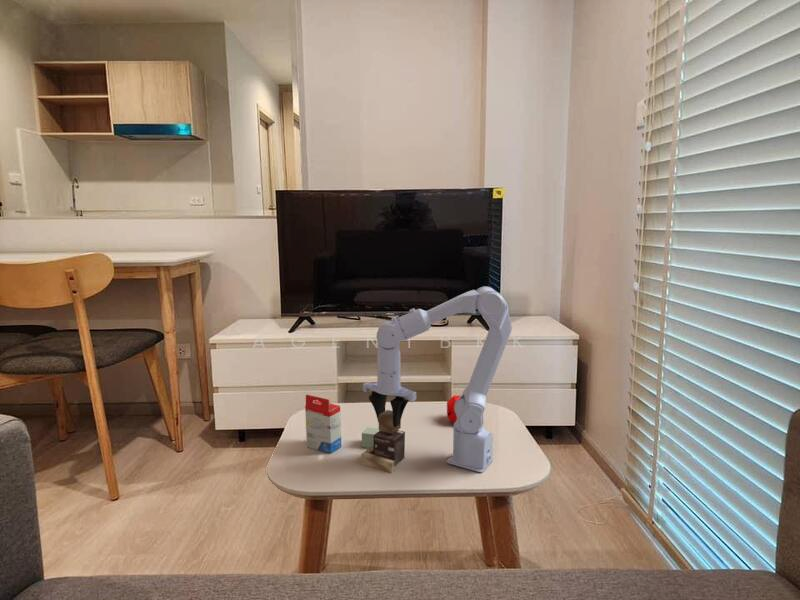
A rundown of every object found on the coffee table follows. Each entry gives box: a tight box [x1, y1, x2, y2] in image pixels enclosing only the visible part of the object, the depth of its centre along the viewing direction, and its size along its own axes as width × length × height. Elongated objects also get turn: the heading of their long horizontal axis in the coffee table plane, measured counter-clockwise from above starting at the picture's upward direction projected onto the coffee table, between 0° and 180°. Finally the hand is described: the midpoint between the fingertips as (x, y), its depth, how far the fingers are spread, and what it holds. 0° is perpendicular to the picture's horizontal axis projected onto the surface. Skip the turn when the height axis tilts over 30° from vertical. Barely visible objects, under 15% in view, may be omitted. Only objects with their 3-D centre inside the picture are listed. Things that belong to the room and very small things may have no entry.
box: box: [373, 429, 406, 468], centre depth 120 cm, size 6×6×7 cm
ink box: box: [304, 394, 342, 454], centre depth 127 cm, size 8×5×15 cm, turn 59°
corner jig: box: [360, 446, 395, 474], centre depth 120 cm, size 9×9×2 cm
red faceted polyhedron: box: [446, 395, 462, 424], centre depth 144 cm, size 8×8×8 cm
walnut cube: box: [378, 409, 402, 434], centre depth 119 cm, size 4×4×4 cm
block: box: [361, 426, 380, 449], centre depth 129 cm, size 4×4×4 cm
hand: (389, 423), depth 119 cm, fingers closed on walnut cube, 4 cm apart
